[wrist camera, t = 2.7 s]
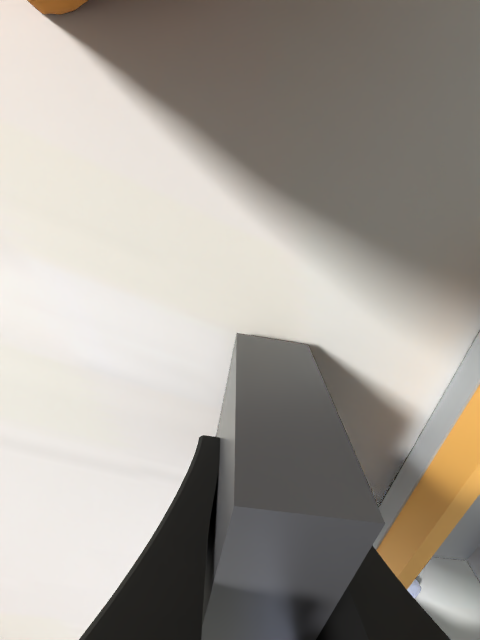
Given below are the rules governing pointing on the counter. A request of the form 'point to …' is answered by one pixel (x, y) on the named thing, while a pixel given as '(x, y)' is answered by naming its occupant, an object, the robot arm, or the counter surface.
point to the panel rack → (438, 485)
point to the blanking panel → (282, 500)
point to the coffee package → (56, 5)
